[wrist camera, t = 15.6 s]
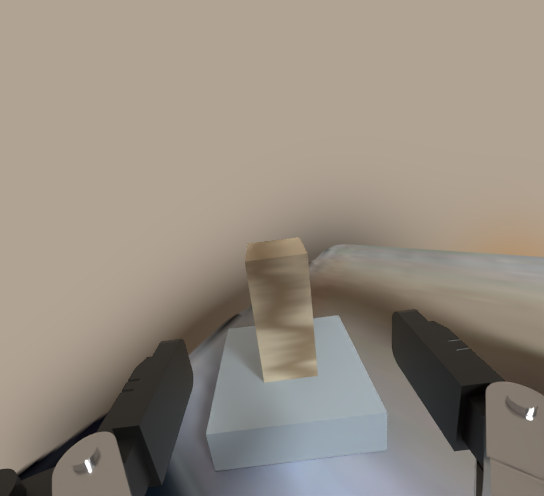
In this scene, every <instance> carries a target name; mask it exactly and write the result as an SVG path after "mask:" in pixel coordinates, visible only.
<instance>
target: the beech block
mask: <svg viewBox="0 0 544 496" xmlns="http://www.w3.org/2000/svg"><path fill="white" fill-rule="evenodd" d="M245 265H246V272H247V277H248V284H249V290H250V297H251V303H252V309H253V316H254V322H255V328H256V334H257V341H258V347H259V353H260V359H261V366H262V372H263V378H264V383H265V382H273V381H281V380H289V379H297V378H305V377H313V376H318V371H317V359H316V347H315V336H314V324H313V312H312V300H311V289H310V277H309V265H308V254H307V252H306V250H305V248H304V246H303V244H302V242H301V240H300V238H299V237H297V238H290V239H281V240H273V241H265V242H258V243H249V244H248V246H247V252H246V258H245Z"/></svg>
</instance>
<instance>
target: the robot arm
mask: <svg viewBox="0 0 544 496" xmlns="http://www.w3.org/2000/svg"><path fill="white" fill-rule="evenodd" d="M392 350H393V355H394V358H395V360H396V362H397V364H398V366H399V367H400V369H401V370H402V372H403V373H404V375H405V376H406V378H407V379H408V381H409V382H410V384H411V386H412V387H413V389H414V390H415V392H416V393H417V395H418V396H419V398H420V399H421V401H422V402H423V404H424V405H425V407H426V408H427V410H428V412H429V413H430V415H431V416H432V418H433V419H434V421H435V422H436V424H437V425H438V427H439V428H440V430H441V431H442V433H443V435H444V436H445V438H446V439H447V441H448V442H449V444H450V445H451V447H452V448H453V450H454V451H460V450H468V449H470V451H471V452H472V453H473V455H474V456H475V458H476V461H475V481H474V496H544V396H543V395H542V394H540V393H538V392H537V391H535V390H533V389H531V388H528V387H526V386H523V385H520V384H516V383H512V382H506V381H505V380H504V379H503V378H501V377H500V376H499V375H498V374H497V373H496V372H495V371H494V370H493V369H492V368H491V367H489V366H488V365H487V364H486V363H485V362H484V361H483V360H482V359H481V358H480V357H479V356H477V355H476V354H475V353H474V352H473V351H472V350H471V349H469V348H468V346H467V345H466V344H464V343H463V342H462V341H460V340H459V338H458V337H457V336H456V335H455V334H454V333H452V332H451V331H450V330H449V329H448V328H446V327H444V326H442V325H440V324H438V323H436V322H434V321H429V322H428V321H427V320H426V319H425V318H424V317H423V316H422V315H421V314H420V313H419V312H418V311H417V310H415V309H413V310H405V311H397V312H394V313H393V315H392ZM192 387H193V371H192V367H191V364H190V360H189V357H188V353H187V349H186V346H185V342H184V341H183V339H176V340H169V341H162V342H161V343H160V344H159V346H158V347H157V349H156V351H155V353H154V354H153V356H152V357H147V358H146V359H145V360H144V361H143V362H142V363H140V364H139V365H138V366H137V367H136V369H135V370H134V371H133V373H132V375H131V377H130V378H129V380H128V382H127V383H126V384H125V386H124V388H123V389H122V393H120V394H119V396H118V398H117V399H116V401H115V403H114V404H113V406H112V408H111V409H110V411H109V412H108V414H107V416H106V417H105V419H104V420H103V422H102V424H101V425H100V427H99V429H98V430H97V432H96V433H94V434H92V435H89V436H87V437H85V438H83V439H82V440H80V441H79V442H77V443H76V444H75V445H73V446H72V447H71V448H70V449H69V450H68V451H67V452H66V453H65V454H64V455H63V456H62V458H61V459H60V460H59V462H58V463H57V465H56V466H55V467H53V468H51V469H48V470H46V471H43V472H41V473H38V474H36V475H34V476H31V477H29V478H26V479H24V480H20V479H19V477H18V476H17V474H16V472H15V471H14V470H12V469H1V470H0V496H145V494H146V491H147V488H148V487H155V486H162V484H163V481H164V478H165V475H166V472H167V468H168V465H169V462H170V459H171V455H172V452H173V449H174V446H175V443H176V439H177V436H178V433H179V430H180V426H181V423H182V420H183V417H184V413H185V410H186V407H187V404H188V401H189V397H190V394H191V391H192Z"/></svg>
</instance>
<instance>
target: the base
mask: <svg viewBox="0 0 544 496" xmlns="http://www.w3.org/2000/svg"><path fill="white" fill-rule="evenodd" d="M313 324H314V336H315V347H316V359H317V371H318V376H313V377H305V378H297V379H289V380H281V381H273V382H265V383H264V378H263V372H262V366H261V359H260V353H259V347H258V341H257V334H256V328H255V326H247V327H239V328H231V329H228V331H227V335H226V340H225V345H224V350H223V355H222V359H221V364H220V369H219V374H218V378H217V383H216V388H215V393H214V398H213V402H212V407H211V412H210V417H209V421H208V426H207V431H206V437H207V441H208V445H209V449H210V453H211V457H212V461H213V465H214V469H215V471H221V470H229V469H238V468H246V467H254V466H262V465H271V464H279V463H287V462H295V461H304V460H312V459H320V458H328V457H337V456H345V455H353V454H361V453H370V452H378V451H386V450H387V411H386V409H385V407H384V405H383V403H382V401H381V399H380V397H379V395H378V393H377V391H376V389H375V387H374V385H373V383H372V381H371V379H370V377H369V375H368V373H367V371H366V369H365V367H364V365H363V363H362V361H361V359H360V357H359V355H358V353H357V351H356V349H355V347H354V345H353V343H352V341H351V339H350V337H349V335H348V333H347V331H346V329H345V327H344V325H343V323H342V321H341V319H340V317H339V315H337V316H328V317H320V318H313Z"/></svg>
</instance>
